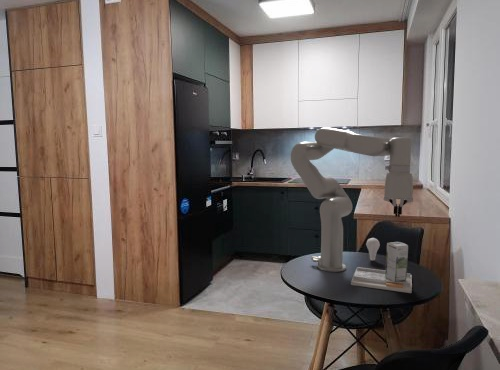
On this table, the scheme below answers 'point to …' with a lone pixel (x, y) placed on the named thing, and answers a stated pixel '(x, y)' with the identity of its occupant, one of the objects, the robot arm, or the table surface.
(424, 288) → the table surface
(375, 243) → the lightbulb
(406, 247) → the syrup box
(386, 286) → the mounting plate
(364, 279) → the metal tray
